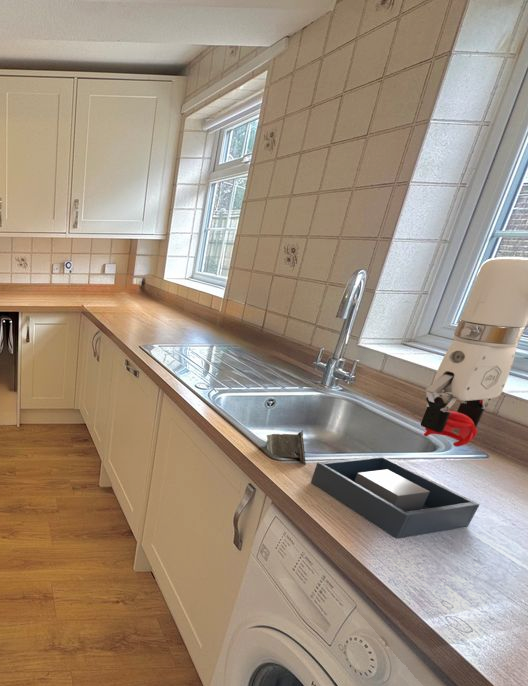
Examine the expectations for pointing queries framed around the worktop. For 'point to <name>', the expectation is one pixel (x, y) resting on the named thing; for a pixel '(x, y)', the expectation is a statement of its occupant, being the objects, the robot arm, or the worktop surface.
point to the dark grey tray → (435, 515)
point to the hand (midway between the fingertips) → (447, 426)
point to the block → (393, 489)
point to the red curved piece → (457, 421)
